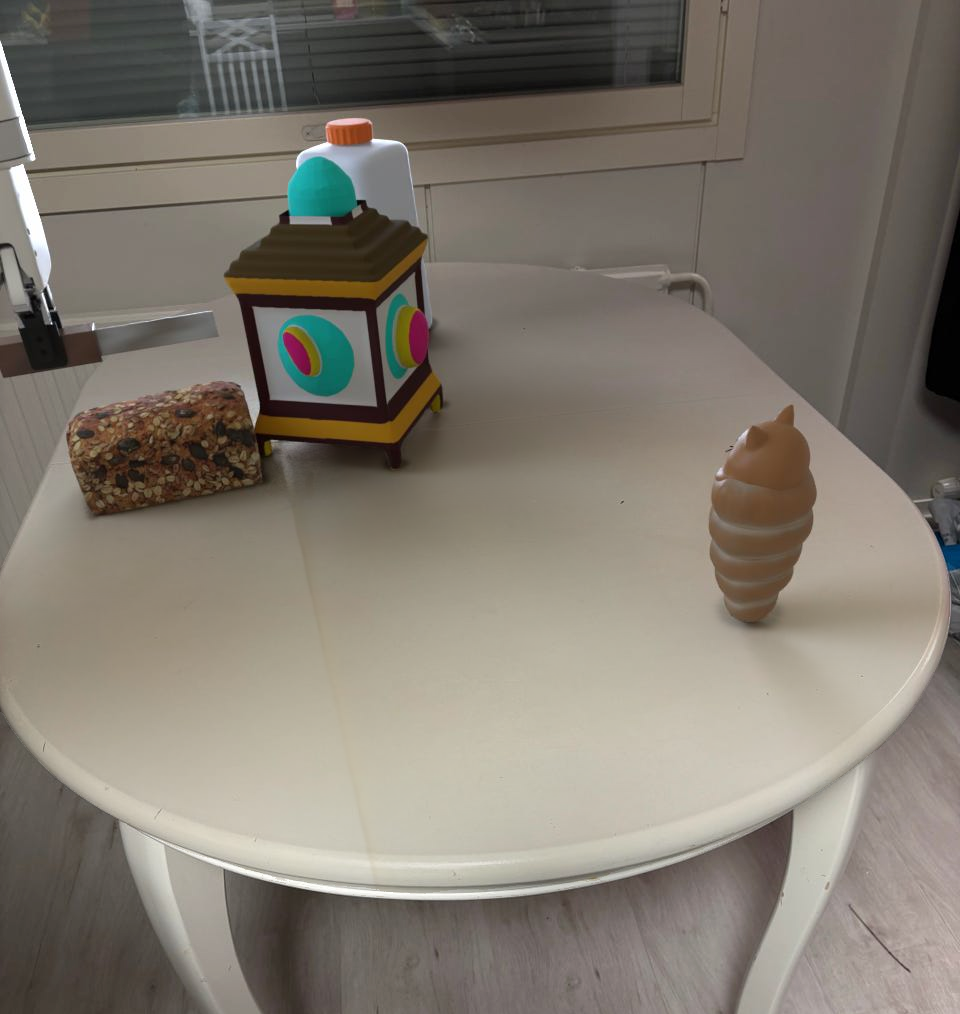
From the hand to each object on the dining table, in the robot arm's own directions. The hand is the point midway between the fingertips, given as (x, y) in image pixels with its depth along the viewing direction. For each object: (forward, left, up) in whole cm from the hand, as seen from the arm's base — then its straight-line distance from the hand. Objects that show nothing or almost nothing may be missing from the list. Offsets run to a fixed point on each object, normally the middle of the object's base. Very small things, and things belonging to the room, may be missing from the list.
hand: (51, 359), depth 90 cm
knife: (+6, 0, 0) cm, 6 cm away
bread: (+8, +5, -17) cm, 19 cm away
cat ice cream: (+54, -37, -17) cm, 68 cm away
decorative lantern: (+28, +11, -17) cm, 35 cm away
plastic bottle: (+36, +44, -17) cm, 59 cm away
